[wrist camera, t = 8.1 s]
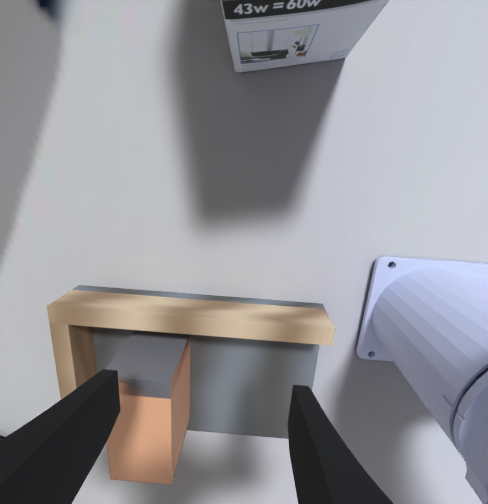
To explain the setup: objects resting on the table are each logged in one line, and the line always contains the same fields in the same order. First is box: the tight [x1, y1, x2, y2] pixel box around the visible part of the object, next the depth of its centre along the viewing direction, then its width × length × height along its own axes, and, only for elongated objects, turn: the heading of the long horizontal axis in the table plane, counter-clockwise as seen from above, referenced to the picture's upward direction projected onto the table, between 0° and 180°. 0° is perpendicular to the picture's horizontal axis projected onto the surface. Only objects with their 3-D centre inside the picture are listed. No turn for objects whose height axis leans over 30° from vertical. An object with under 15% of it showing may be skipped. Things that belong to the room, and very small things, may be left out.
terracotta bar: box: [106, 330, 191, 485], centre depth 19 cm, size 8×4×5 cm, turn 176°
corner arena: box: [47, 285, 335, 439], centre depth 20 cm, size 18×12×3 cm, turn 86°
